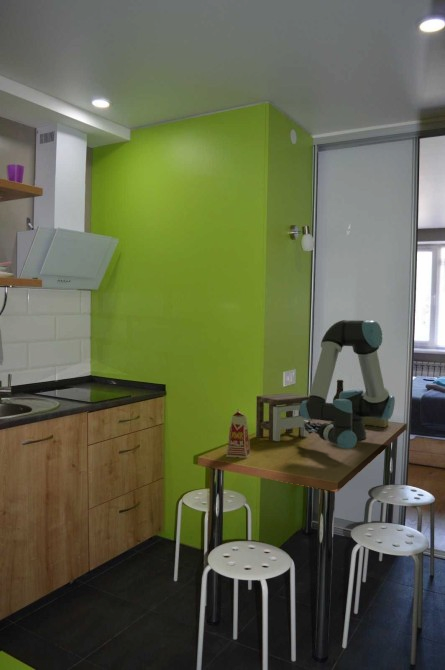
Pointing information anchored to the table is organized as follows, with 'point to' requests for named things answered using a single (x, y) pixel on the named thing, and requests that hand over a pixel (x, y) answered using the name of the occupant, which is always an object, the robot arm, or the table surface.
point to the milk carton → (238, 437)
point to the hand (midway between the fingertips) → (304, 423)
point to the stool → (272, 401)
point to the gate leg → (287, 421)
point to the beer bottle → (338, 389)
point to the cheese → (375, 422)
